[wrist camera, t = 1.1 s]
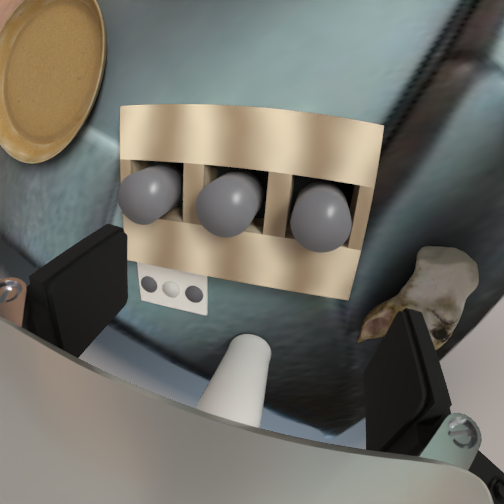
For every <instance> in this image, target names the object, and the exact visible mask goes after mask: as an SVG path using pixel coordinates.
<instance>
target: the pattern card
mask: <svg viewBox="0 0 504 504" xmlns="http://www.w3.org/2000/svg"><path fill="white" fill-rule="evenodd" d="M137 267H138V276H139V285H140V294H141V300H143V301H147V302H151V303H155V304H159V305H163V306H167V307H171V308H175V309H180V310H184V311H188V312H193V313H197V314H202V315H206V316H207V314H208V276H205V275H199V274H194V273H189V272H184V271H179V270H174V269H169V268H164V267H159V266H154V265H149V264H144V263H139V262H137Z"/></svg>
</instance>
